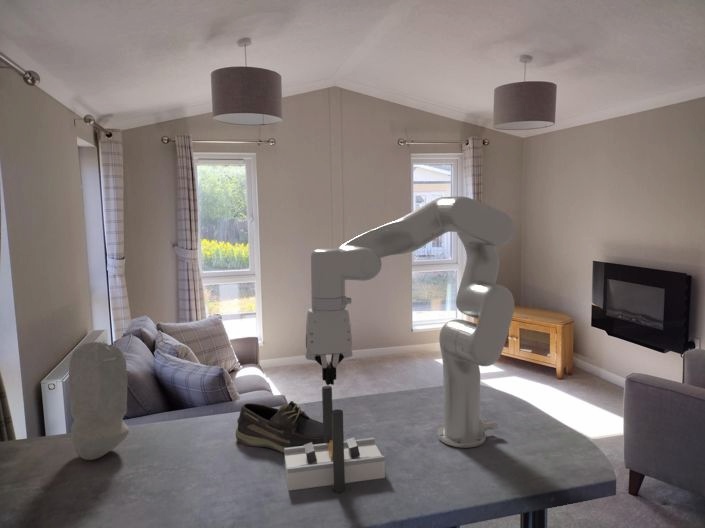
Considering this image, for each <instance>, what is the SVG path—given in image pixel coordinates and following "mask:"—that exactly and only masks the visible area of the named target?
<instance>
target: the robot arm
mask: <svg viewBox="0 0 705 528" xmlns="http://www.w3.org/2000/svg"><path fill="white" fill-rule="evenodd" d="M515 227H516V226H515V222H514V220H513V218H512V217H511V216H510V215H509V214H508V213H507V212H505V211H503V210H501V209H499V208H496V207H493V206H491V205H489V204H486V203H483V202H482V201H479V200H476V199H473V198H470V197H467V196H441V197H438V198H435V199H433V200H431V201H429V202H427V203H425V204H424V205H422V206H420V207H418V208H417V209H415V210H414V211H412V212H410V213H407V214H406V215H404V216H402V217H400V218H398V219H396V220H395V221H394V220H393V221H391V222H388V223H385V224H384V225H381V226H378V227H377V228H374V229H370V230H369V231H366V232H364V233H362V234H359V235H358V236H356V237H354V238H352V239H350V240H349V241H346V242H345V243H343V244H341V245H340V246H338V248H318V249H317V248H316V249H315V250H313V251H312V252H311V253H310V283H311V289H310V290H311V291H310V292H311V308H308V309H307V315H306V324H305V348H306V351H305V356H304V357H305V359H306V360H308V361H315V362H316V363H318V364H319V365H320V366H321V368H322V371H321V373H322V375H321V376H322V377H321V378H322V381H324V382H325V384H326V386H331V385H333V386H334V384H335V381H336V380H337V367H338V365H339V364H341V362H342V361H343V360H344V359H347V358H351V357H353V350H352V348H353V347H352V345H353V340H352V337H353V336H352V329H351V327H352V326H351V319H350V314H349V309H348V308H347V305H349V304H350V305H351V304H352V298H351V297H348V296H346V281H348V280H349V281H361V282H365V281H371V280H373V279H374V278H375V277H377V275H379V274H380V272H381V269H382V260H381V259H382V258H385V257H389V256H396V255H403V254H409V253H412V252H415V251H417V250H419V249H421V248H422V247H424V246H426V245H427V244H429V243H430V242H433V241H434V240H436V239H437V238H439V237H441V236H443V235H444V234H447V233H449V232H451V233H452V232H454V233H456V234H457V236H458V238H459V239H460V241H461V243H462V245H463V247H464V250H465V254H466V262H465V266H464V269H463V275H462V277H461V280H460V285H459V287H458V291H457V293H456V298H455V305H456V306H455V307H456V309H457V310H458V311H459V312H460V313H461V314H463V315H465V316H468V317H471V318H475V319H477V323H476V322H472V321H467V320H466V319H465V320H464V319H451V320H449V321H447V322H446V323H444V325H443V326H442V327H441V329H440V332H439V338H438V339H439V346H440V347H439V348H440V352H441V353H440V354H441V359H442V373H443V375H442V390H443V391H442V396H443V397H442V403H443V406H442V409H443V411H442V412H443V413H442V415H443V417H442V418H443V419H442V421H443V423H442V426H440V427H439V428H438V429H437V432H436V433H437V438H438V440H440V442H442V443H444V444H445V445H448V446H451V447H455V448H462V449H463V448H465V449H466V448H475V447H480V446H481V445H483V444H484V443H485V442H486V440H487V437H486V436H487V434H486V432H487V430H497V429H498V427H499V426H498V422H497V421H489V420H488V419H487V418H485V419H481V370H480V367H490V366H492V365H494V364H495V363H496V362H497V361H499V359H500V358H501V355H502V353H503V350H504V347H505V344H506V341H507V338H508V335H509V331H510V327H511V324H512V320H513V316H514V312H515V299H514V296H513V294H512V292H511V291H510V289H508V288H507V287H506V286H504V285H501V284H498V283H497V279H498V274H499V272H500V271H499V270H500V257H499V253H498V251H497V247H500V246H504V245H506V244H508V243H509V242H510V241H512V239H513V237H514V235H515V231H516V229H515ZM496 283H497V284H496ZM329 355H331V356H330V361H329V363H328V360H327V356H329Z"/></svg>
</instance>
